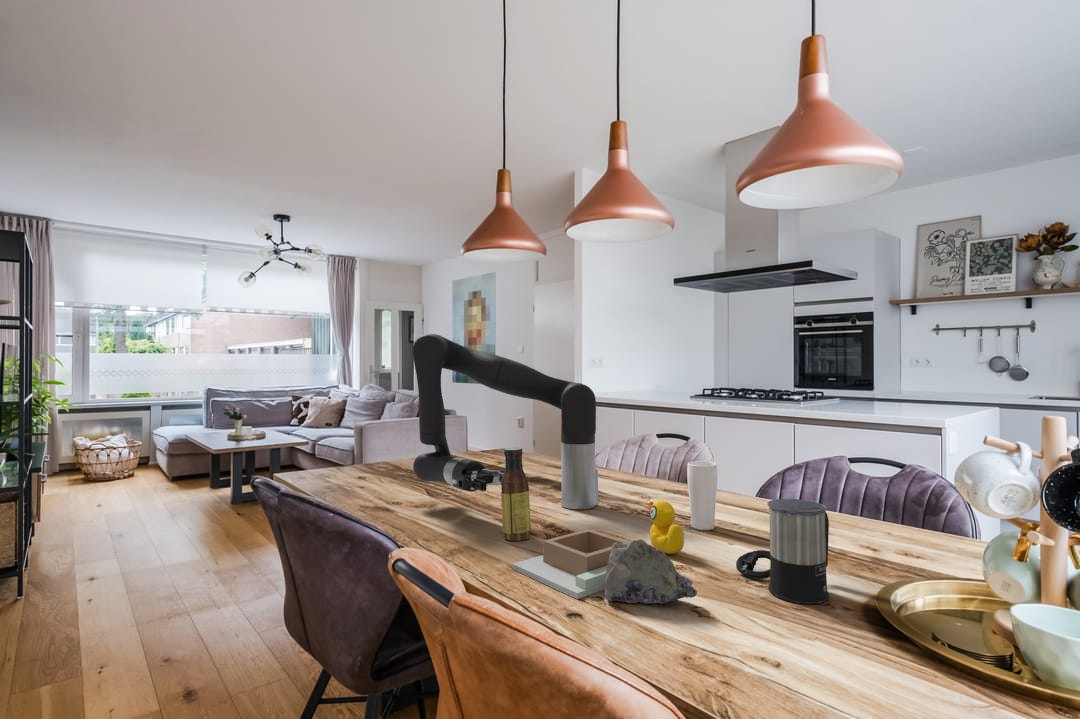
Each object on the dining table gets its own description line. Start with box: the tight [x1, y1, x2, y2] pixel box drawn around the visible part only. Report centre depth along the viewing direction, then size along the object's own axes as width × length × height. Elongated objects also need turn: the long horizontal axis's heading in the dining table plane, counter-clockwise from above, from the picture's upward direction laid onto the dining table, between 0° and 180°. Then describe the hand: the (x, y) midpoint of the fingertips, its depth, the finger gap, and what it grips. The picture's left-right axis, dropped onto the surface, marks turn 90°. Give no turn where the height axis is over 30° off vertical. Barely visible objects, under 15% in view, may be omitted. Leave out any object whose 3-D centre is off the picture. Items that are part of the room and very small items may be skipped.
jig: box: [511, 528, 632, 600], centre depth 107 cm, size 22×18×5 cm
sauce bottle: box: [500, 446, 532, 542], centre depth 126 cm, size 6×6×20 cm
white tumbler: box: [686, 460, 718, 531], centre depth 133 cm, size 7×7×15 cm
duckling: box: [648, 500, 685, 555], centre depth 116 cm, size 11×5×10 cm, turn 19°
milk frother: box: [735, 498, 830, 605], centre depth 98 cm, size 14×16×15 cm
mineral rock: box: [604, 538, 698, 605], centre depth 91 cm, size 13×11×10 cm
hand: (500, 483), depth 130 cm, fingers open, 8 cm apart
